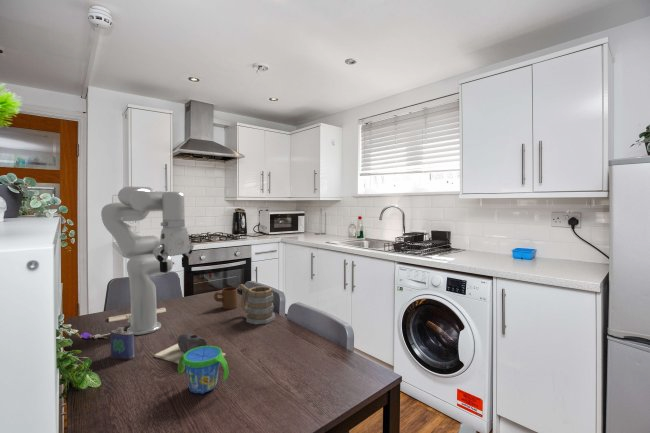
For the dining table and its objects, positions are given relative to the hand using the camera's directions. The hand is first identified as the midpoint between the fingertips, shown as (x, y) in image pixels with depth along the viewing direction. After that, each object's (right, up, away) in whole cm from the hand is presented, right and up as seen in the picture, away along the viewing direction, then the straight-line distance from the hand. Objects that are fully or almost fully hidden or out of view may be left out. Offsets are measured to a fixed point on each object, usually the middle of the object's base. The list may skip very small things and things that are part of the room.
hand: (175, 269), depth 124 cm
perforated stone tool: (+10, -28, -9) cm, 31 cm away
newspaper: (-32, -28, +32) cm, 54 cm away
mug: (+6, -27, +43) cm, 51 cm away
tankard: (+24, -27, +29) cm, 46 cm away
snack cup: (+21, -30, -29) cm, 46 cm away
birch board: (+9, -29, -9) cm, 32 cm away
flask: (-14, -29, -10) cm, 34 cm away
